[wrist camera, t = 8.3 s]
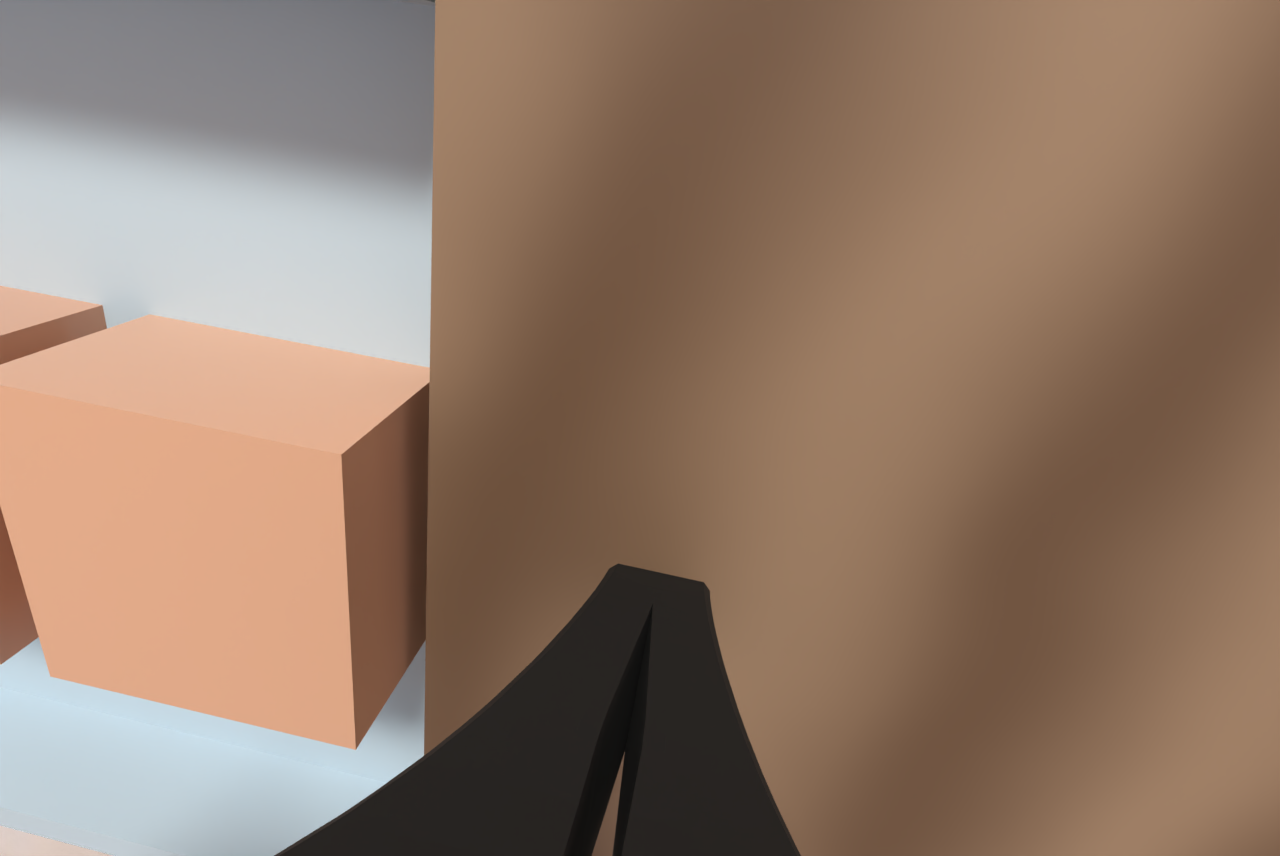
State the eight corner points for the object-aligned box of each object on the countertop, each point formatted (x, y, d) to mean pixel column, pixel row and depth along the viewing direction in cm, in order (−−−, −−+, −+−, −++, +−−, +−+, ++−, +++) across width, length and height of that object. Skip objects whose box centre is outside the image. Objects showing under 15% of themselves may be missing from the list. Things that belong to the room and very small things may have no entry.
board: (2284, -15, 7) (2817, -59, 5) (1247, 1049, 15) (1311, 1173, 14) (509, -231, 8) (440, -323, 7) (457, 849, 17) (421, 937, 15)
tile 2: (444, 370, 11) (341, 454, 8) (438, 618, 13) (355, 749, 11) (149, 314, 12) (-38, 377, 9) (191, 564, 14) (50, 676, 11)
